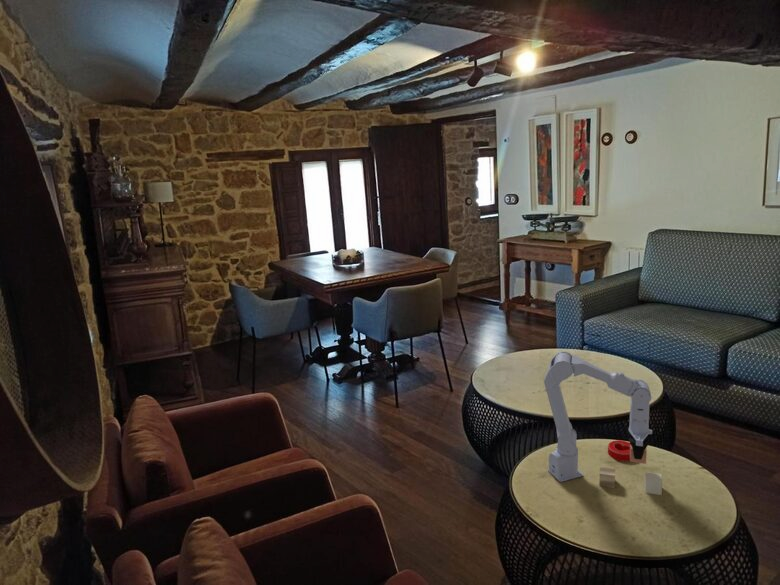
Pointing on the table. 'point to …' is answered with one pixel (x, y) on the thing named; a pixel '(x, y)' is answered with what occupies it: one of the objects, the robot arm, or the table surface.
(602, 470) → the beech cube
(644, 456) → the terracotta cube
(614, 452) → the decorative ornament
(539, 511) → the table surface
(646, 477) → the cream cube
